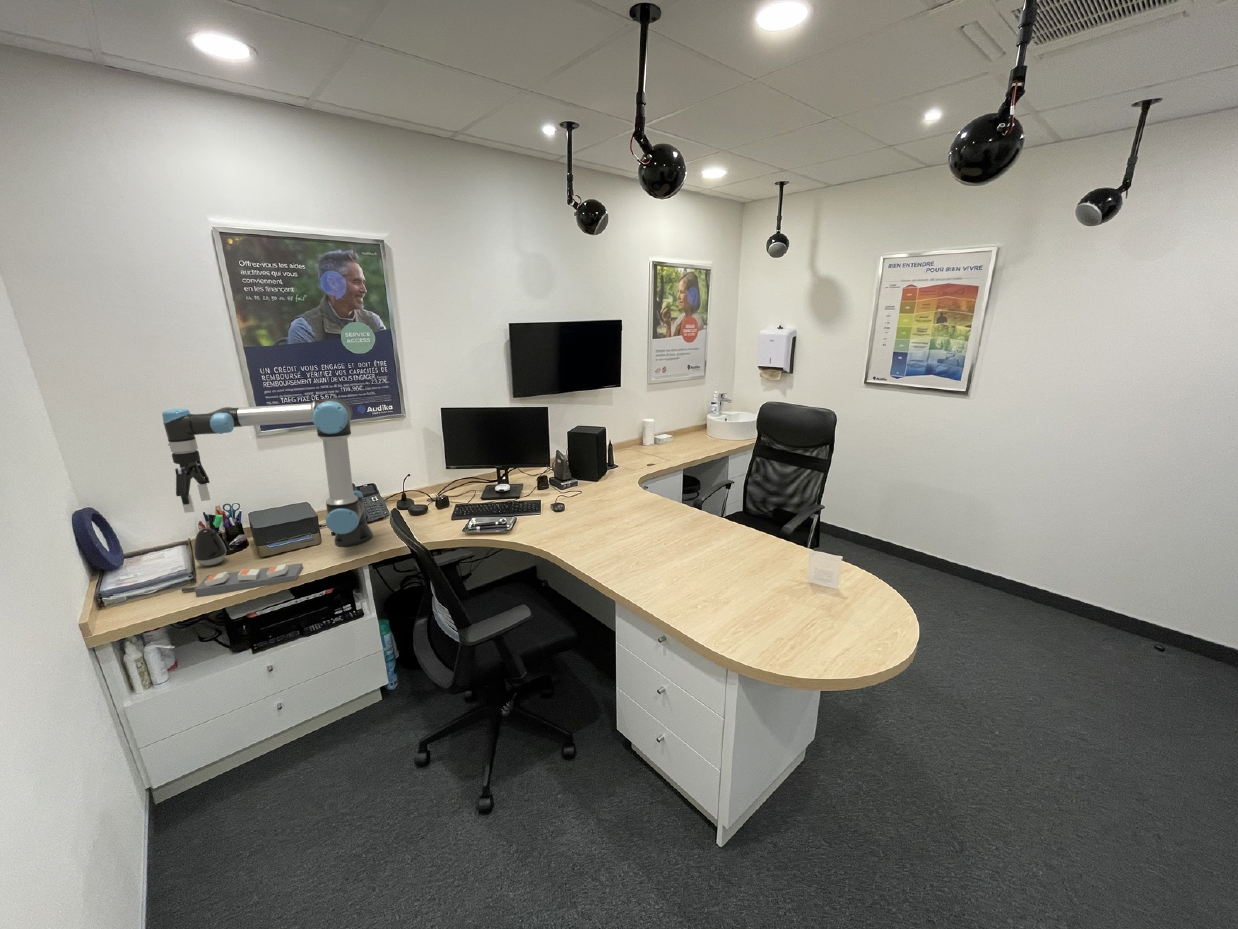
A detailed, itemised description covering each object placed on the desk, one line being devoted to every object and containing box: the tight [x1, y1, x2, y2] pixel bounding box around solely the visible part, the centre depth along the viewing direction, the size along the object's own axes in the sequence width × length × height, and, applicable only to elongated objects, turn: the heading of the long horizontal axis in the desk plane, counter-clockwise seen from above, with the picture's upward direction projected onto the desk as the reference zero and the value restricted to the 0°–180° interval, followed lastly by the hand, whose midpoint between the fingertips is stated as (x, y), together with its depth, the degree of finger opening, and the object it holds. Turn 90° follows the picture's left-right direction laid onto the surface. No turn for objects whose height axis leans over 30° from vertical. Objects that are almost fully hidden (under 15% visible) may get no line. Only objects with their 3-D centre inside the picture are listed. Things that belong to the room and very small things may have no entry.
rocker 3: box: [267, 563, 289, 578], centre depth 185 cm, size 6×5×2 cm
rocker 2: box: [238, 568, 261, 580], centre depth 182 cm, size 6×5×2 cm
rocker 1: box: [205, 571, 229, 587], centre depth 179 cm, size 6×5×2 cm
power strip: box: [181, 562, 304, 598], centre depth 184 cm, size 37×11×3 cm, turn 110°
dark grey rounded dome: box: [193, 527, 228, 567], centre depth 199 cm, size 10×10×15 cm
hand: (198, 506), depth 185 cm, fingers open, 13 cm apart
